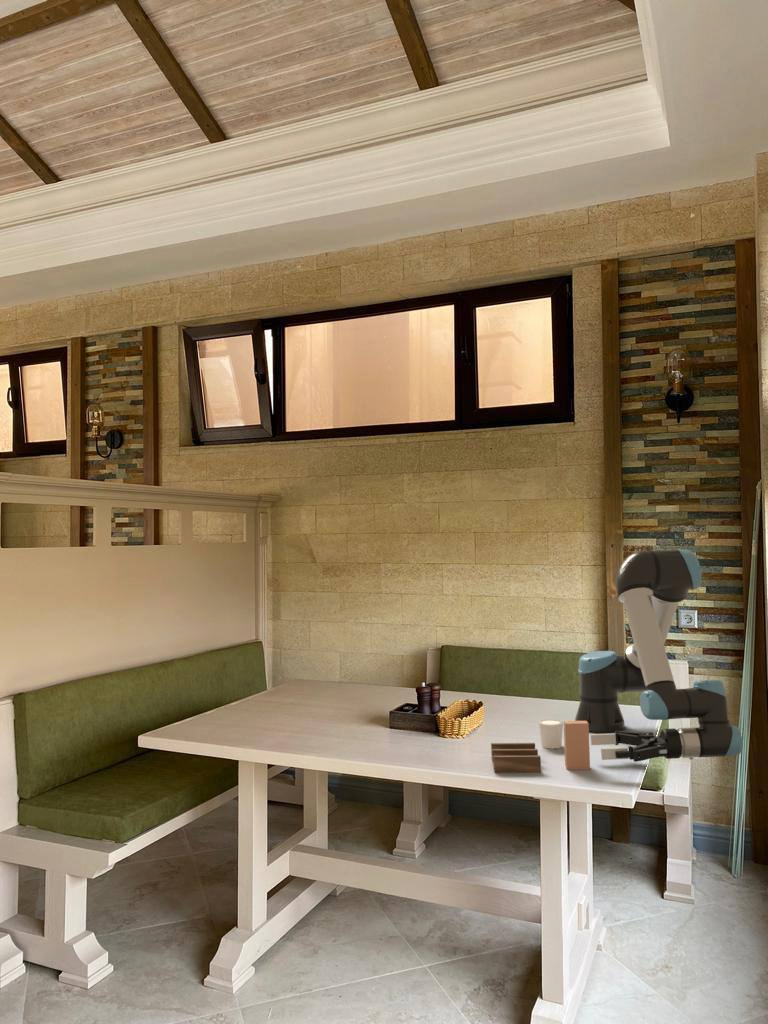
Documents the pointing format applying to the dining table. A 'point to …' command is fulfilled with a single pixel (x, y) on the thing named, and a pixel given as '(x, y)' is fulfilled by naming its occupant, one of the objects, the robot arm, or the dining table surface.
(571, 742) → the tile
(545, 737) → the white cup
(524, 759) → the rack
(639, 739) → the robot arm
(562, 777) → the dining table surface
